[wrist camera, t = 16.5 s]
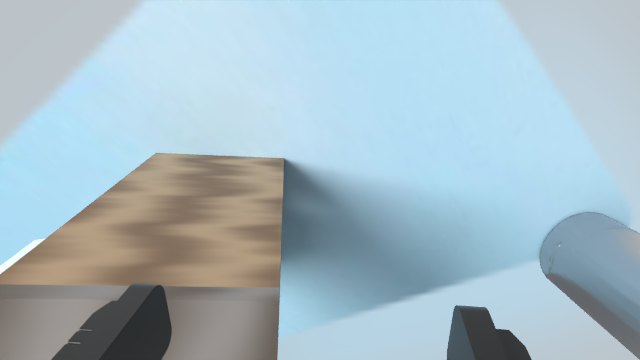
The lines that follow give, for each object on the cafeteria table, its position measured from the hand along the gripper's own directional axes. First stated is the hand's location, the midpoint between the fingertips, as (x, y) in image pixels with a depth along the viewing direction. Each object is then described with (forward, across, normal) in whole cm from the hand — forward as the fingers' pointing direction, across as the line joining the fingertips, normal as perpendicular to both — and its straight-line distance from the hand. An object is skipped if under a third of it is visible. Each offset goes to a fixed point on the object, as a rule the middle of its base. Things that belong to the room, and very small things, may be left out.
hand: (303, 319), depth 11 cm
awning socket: (+25, +12, +11) cm, 30 cm away
